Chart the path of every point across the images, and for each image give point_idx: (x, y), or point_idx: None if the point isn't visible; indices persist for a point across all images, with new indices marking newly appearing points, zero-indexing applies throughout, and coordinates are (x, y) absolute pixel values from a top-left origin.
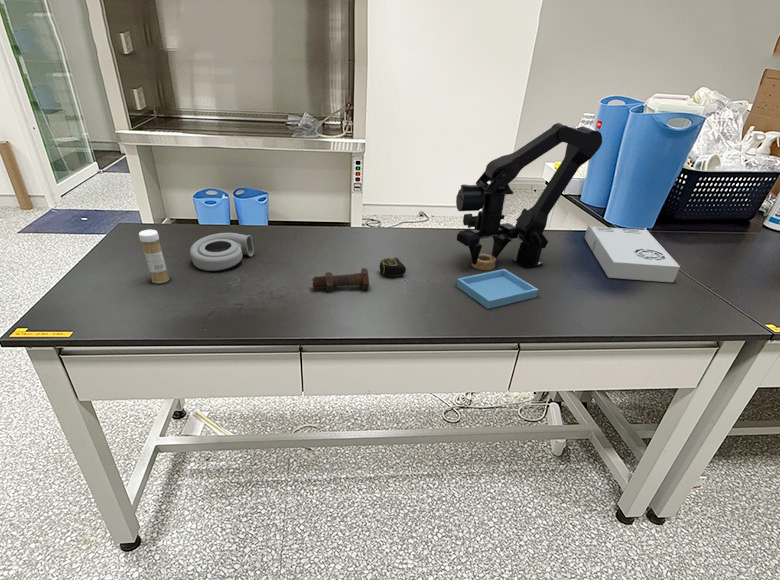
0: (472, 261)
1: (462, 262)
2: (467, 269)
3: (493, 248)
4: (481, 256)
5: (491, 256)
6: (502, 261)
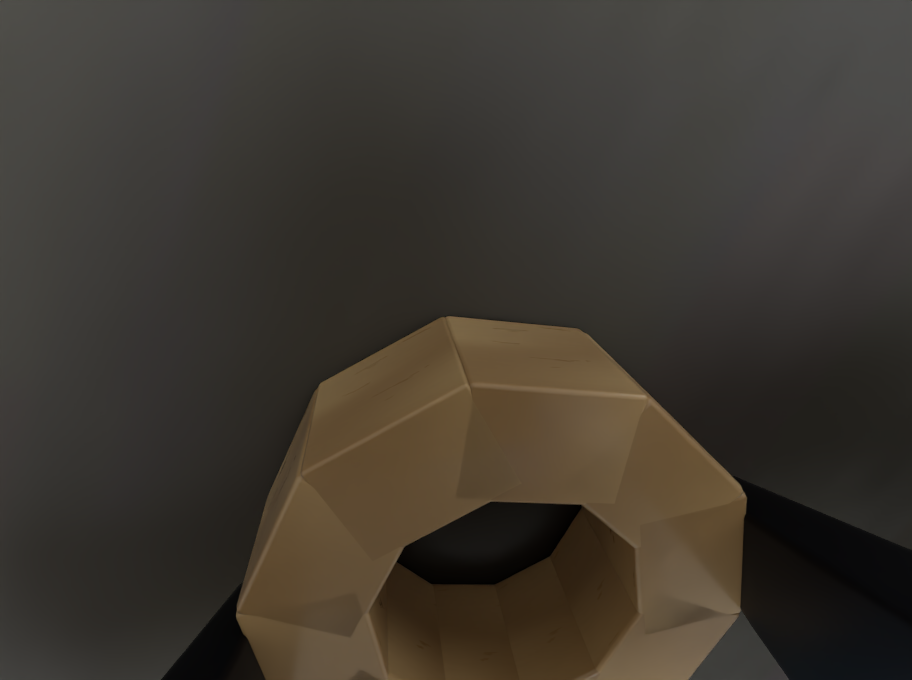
0: (219, 624)
1: (119, 316)
2: (139, 600)
3: (900, 651)
4: (513, 487)
5: (701, 566)
6: (878, 401)
